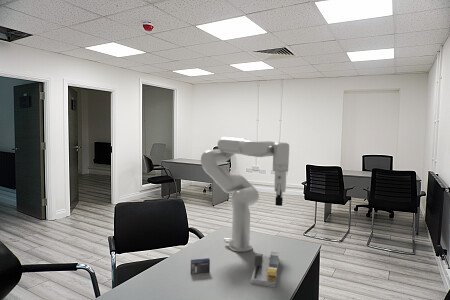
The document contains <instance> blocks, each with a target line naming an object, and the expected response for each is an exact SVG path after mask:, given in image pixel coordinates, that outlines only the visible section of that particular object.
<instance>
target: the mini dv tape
mask: <svg viewBox="0 0 450 300" xmlns="http://www.w3.org/2000/svg"><path fill="white" fill-rule="evenodd" d="M210 269H211V259H210V258H207V257H206V258H198V259H197V258H196V259H190V275H200V274H210Z"/></svg>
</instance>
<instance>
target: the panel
mask: <svg viewBox="0 0 450 300" xmlns="http://www.w3.org/2000/svg"><path fill="white" fill-rule="evenodd" d="M269 257H270V256H264V255H263V259H262V267H261V266H255V265H254V269H253V272H252V275H251V278H250V284H251V285H256V286H257V285H258V286H263V287H271V288H276V286H277V280H278V279H277V277H278V272H279V271H278V270H279V264H280V260H279V261H278V265H277V267H275V266H269V262H270V260H269ZM268 267H273V268H277V273H276V276H273V275H267V269H268Z"/></svg>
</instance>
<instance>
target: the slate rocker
mask: <svg viewBox="0 0 450 300" xmlns="http://www.w3.org/2000/svg"><path fill="white" fill-rule="evenodd" d="M279 253H280V252H274V251H271V252H270V255H269V256H268V257H269V260H270V262H269V266H275V267H277V265H278V261H279V262H280V258H279V256H280V254H279ZM278 266H279V265H278Z"/></svg>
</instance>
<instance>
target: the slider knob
mask: <svg viewBox="0 0 450 300" xmlns="http://www.w3.org/2000/svg"><path fill="white" fill-rule="evenodd" d="M263 256H264V254H263V253H255V256H254V267H255V266H261V267H262V259H263Z"/></svg>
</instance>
